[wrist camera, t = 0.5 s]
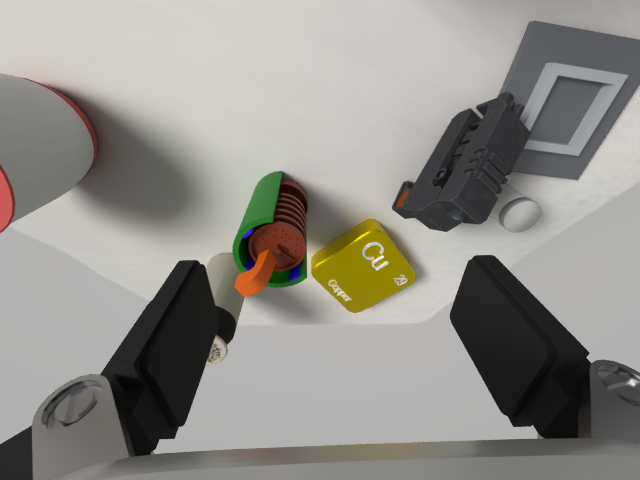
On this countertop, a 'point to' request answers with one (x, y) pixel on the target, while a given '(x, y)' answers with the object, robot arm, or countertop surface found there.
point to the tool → (467, 167)
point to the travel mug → (224, 302)
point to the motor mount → (569, 94)
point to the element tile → (362, 267)
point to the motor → (272, 236)
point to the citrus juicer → (39, 146)
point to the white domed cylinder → (515, 210)
